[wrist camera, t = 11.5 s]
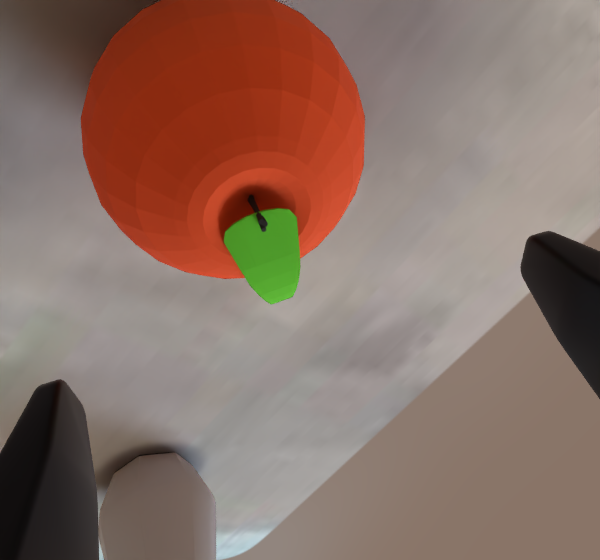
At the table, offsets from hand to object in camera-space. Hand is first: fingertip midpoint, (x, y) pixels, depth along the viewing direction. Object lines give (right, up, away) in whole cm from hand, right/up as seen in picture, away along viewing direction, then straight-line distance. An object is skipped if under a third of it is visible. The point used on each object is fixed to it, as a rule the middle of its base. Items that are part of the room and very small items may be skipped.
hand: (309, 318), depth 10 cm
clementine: (-3, +6, +7) cm, 10 cm away
